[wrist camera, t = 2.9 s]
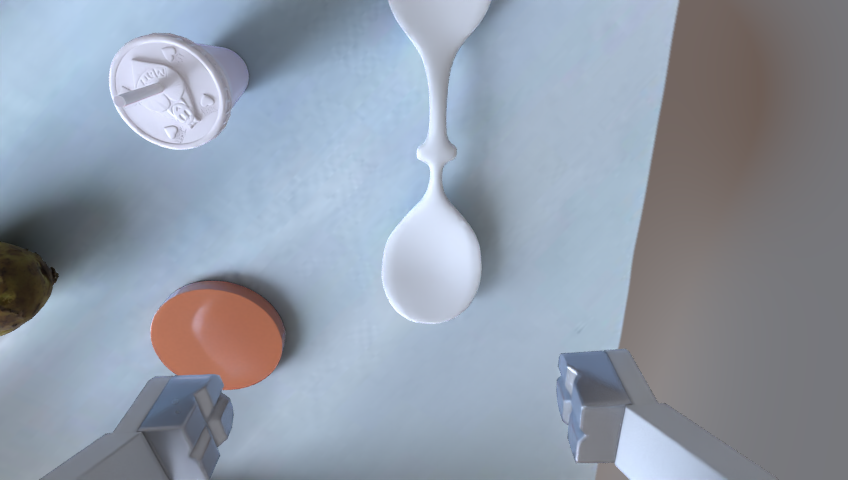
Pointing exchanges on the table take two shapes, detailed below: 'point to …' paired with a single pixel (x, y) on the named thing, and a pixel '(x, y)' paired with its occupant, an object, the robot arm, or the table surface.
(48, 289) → the green bumpy oval lump
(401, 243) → the spoon
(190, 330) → the plant saucer
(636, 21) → the table surface
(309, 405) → the table surface
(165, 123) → the smoothie
